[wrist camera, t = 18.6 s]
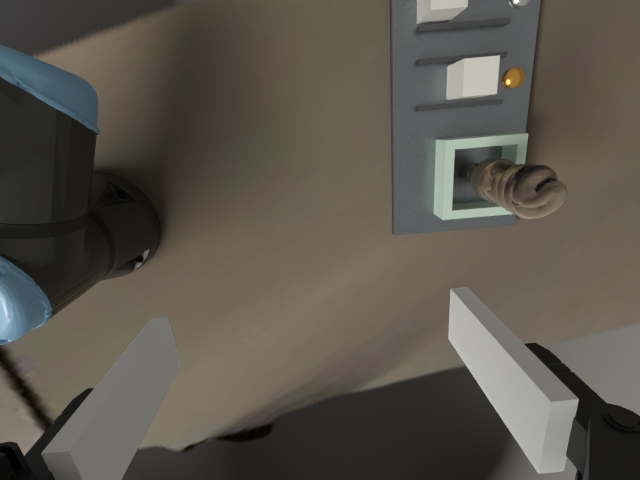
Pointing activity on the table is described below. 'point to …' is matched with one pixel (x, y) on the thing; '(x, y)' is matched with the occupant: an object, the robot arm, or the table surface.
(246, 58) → the table surface
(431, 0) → the block
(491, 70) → the block
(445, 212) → the socket
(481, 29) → the panel
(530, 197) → the light bulb
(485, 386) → the robot arm
